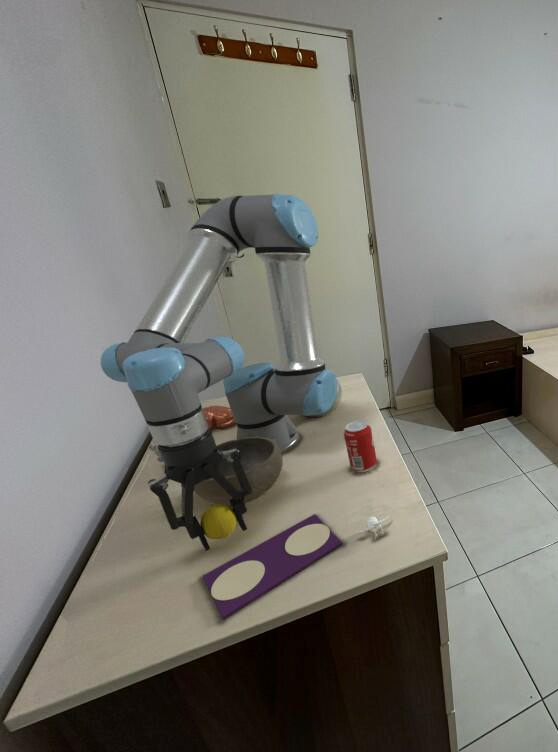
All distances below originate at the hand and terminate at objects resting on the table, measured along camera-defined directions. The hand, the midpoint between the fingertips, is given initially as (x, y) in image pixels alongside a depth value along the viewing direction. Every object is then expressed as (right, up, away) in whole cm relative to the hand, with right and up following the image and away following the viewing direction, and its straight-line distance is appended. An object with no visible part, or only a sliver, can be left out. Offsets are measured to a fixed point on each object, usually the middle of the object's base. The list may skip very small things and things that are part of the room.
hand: (225, 536), depth 78 cm
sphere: (-6, +19, +51) cm, 54 cm away
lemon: (0, 0, 0) cm, 1 cm away
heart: (-34, +15, +43) cm, 57 cm away
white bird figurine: (+29, 0, +2) cm, 29 cm away
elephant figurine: (-32, +8, +26) cm, 42 cm away
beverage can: (+19, +8, +23) cm, 31 cm away
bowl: (-6, +4, +15) cm, 17 cm away
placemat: (+12, -3, -4) cm, 13 cm away
